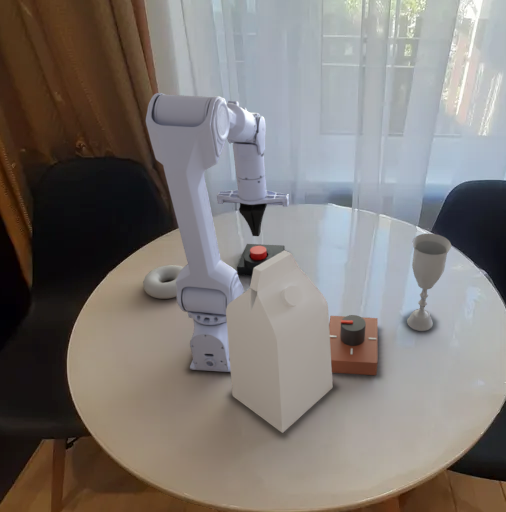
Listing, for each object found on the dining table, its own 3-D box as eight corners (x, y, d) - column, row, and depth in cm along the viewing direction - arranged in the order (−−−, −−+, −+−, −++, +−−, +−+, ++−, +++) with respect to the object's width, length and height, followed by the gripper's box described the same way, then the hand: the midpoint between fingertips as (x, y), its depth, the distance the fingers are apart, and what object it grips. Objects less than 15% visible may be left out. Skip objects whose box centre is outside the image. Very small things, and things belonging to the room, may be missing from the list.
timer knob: (365, 330, 89) (366, 314, 87) (364, 346, 85) (365, 330, 83) (341, 329, 89) (341, 312, 87) (339, 345, 86) (339, 329, 83)
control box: (277, 279, 107) (276, 263, 105) (237, 277, 108) (235, 261, 105) (284, 253, 116) (284, 238, 113) (247, 251, 116) (246, 237, 114)
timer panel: (376, 375, 84) (377, 362, 82) (324, 372, 84) (324, 359, 83) (376, 330, 94) (377, 317, 92) (330, 327, 94) (330, 314, 92)
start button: (265, 261, 106) (264, 254, 105) (249, 260, 106) (248, 253, 105) (268, 252, 109) (267, 245, 108) (252, 251, 109) (251, 245, 108)
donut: (183, 304, 100) (199, 275, 108) (180, 290, 98) (197, 262, 106) (137, 300, 100) (156, 272, 108) (133, 287, 98) (152, 260, 106)
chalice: (436, 337, 92) (451, 257, 82) (400, 331, 93) (410, 252, 83) (437, 313, 98) (451, 235, 87) (404, 308, 99) (413, 231, 88)
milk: (283, 356, 87) (274, 230, 72) (332, 387, 82) (334, 257, 66) (232, 395, 80) (210, 263, 65) (282, 433, 74) (271, 297, 59)
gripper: (289, 167, 99) (292, 226, 107) (220, 165, 100) (228, 223, 108) (284, 182, 94) (287, 242, 102) (210, 179, 94) (219, 239, 102)
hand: (256, 233), depth 104 cm, fingers closed
